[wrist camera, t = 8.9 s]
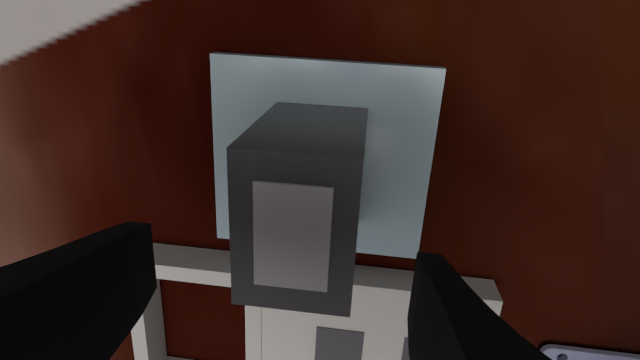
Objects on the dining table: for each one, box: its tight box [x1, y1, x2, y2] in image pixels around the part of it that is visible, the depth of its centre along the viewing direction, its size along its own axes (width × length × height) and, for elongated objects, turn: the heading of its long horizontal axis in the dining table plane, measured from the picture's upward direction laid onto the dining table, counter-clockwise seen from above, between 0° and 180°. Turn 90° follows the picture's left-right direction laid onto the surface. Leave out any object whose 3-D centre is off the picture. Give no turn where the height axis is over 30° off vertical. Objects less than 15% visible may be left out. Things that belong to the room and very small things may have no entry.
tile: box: [210, 52, 446, 259], centre depth 20 cm, size 10×9×1 cm
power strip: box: [131, 243, 503, 360], centre depth 23 cm, size 18×9×2 cm, turn 87°
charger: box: [226, 102, 368, 317], centre depth 17 cm, size 4×6×7 cm
